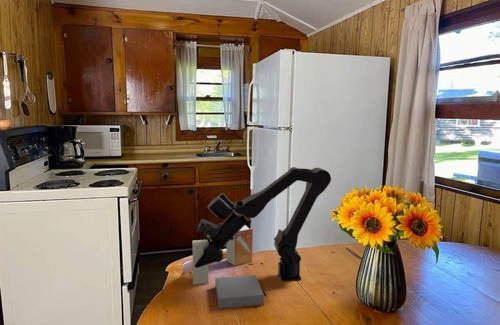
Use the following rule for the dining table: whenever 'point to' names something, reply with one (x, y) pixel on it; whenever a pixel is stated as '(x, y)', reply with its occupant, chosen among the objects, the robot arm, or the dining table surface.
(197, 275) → the sage block
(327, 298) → the dining table surface
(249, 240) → the small box
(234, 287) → the plinth
